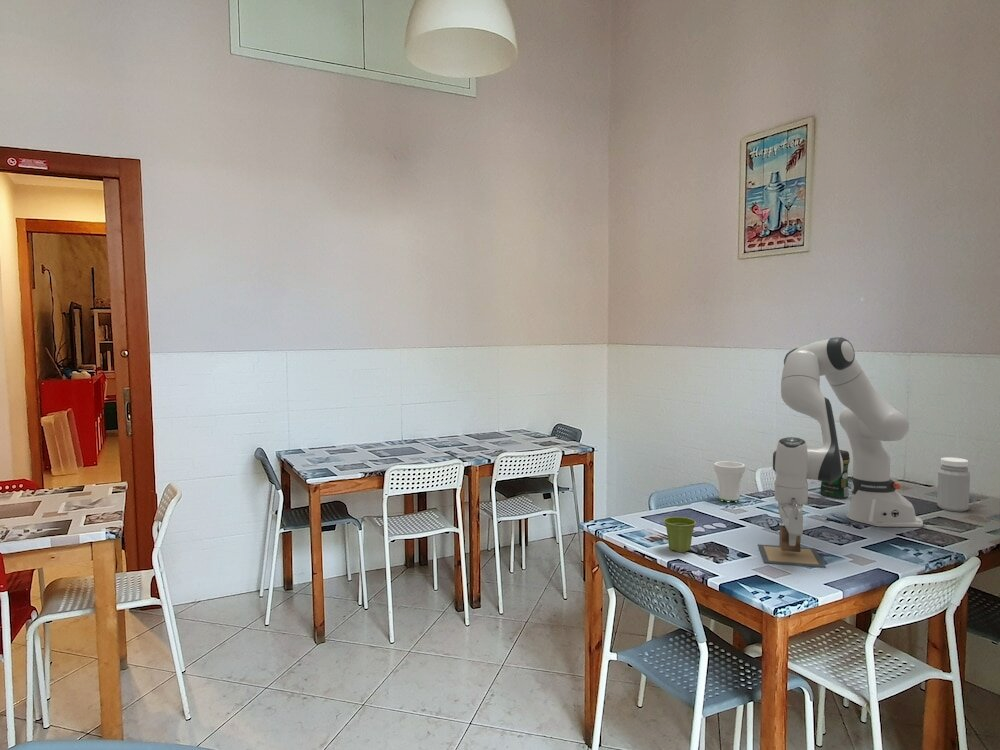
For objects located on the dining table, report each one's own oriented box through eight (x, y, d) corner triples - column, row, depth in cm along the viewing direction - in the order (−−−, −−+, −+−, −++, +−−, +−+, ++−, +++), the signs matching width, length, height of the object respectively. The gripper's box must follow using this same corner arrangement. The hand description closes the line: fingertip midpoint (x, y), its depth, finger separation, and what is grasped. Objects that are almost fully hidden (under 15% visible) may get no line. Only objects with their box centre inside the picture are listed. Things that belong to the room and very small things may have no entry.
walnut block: (797, 546, 196) (798, 526, 195) (800, 552, 191) (800, 531, 190) (779, 545, 197) (779, 525, 196) (781, 550, 192) (782, 530, 192)
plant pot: (660, 544, 206) (660, 516, 205) (691, 544, 206) (691, 516, 205) (667, 554, 197) (667, 525, 196) (699, 554, 196) (699, 525, 196)
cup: (749, 504, 251) (750, 466, 250) (720, 505, 250) (721, 467, 249) (736, 496, 262) (737, 460, 261) (709, 497, 261) (709, 461, 260)
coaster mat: (814, 549, 199) (814, 548, 199) (825, 567, 184) (825, 566, 184) (757, 545, 204) (757, 544, 204) (763, 563, 188) (763, 562, 188)
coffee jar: (816, 495, 263) (817, 448, 262) (829, 492, 267) (830, 446, 266) (840, 500, 255) (841, 452, 253) (852, 497, 259) (853, 449, 257)
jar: (973, 513, 235) (974, 462, 234) (940, 511, 239) (942, 461, 237) (964, 506, 244) (966, 457, 243) (933, 504, 248) (935, 456, 246)
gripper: (809, 504, 182) (808, 554, 183) (797, 487, 202) (796, 532, 203) (784, 503, 184) (783, 552, 185) (774, 486, 203) (774, 530, 204)
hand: (790, 541), depth 194 cm, fingers closed on walnut block, 5 cm apart
